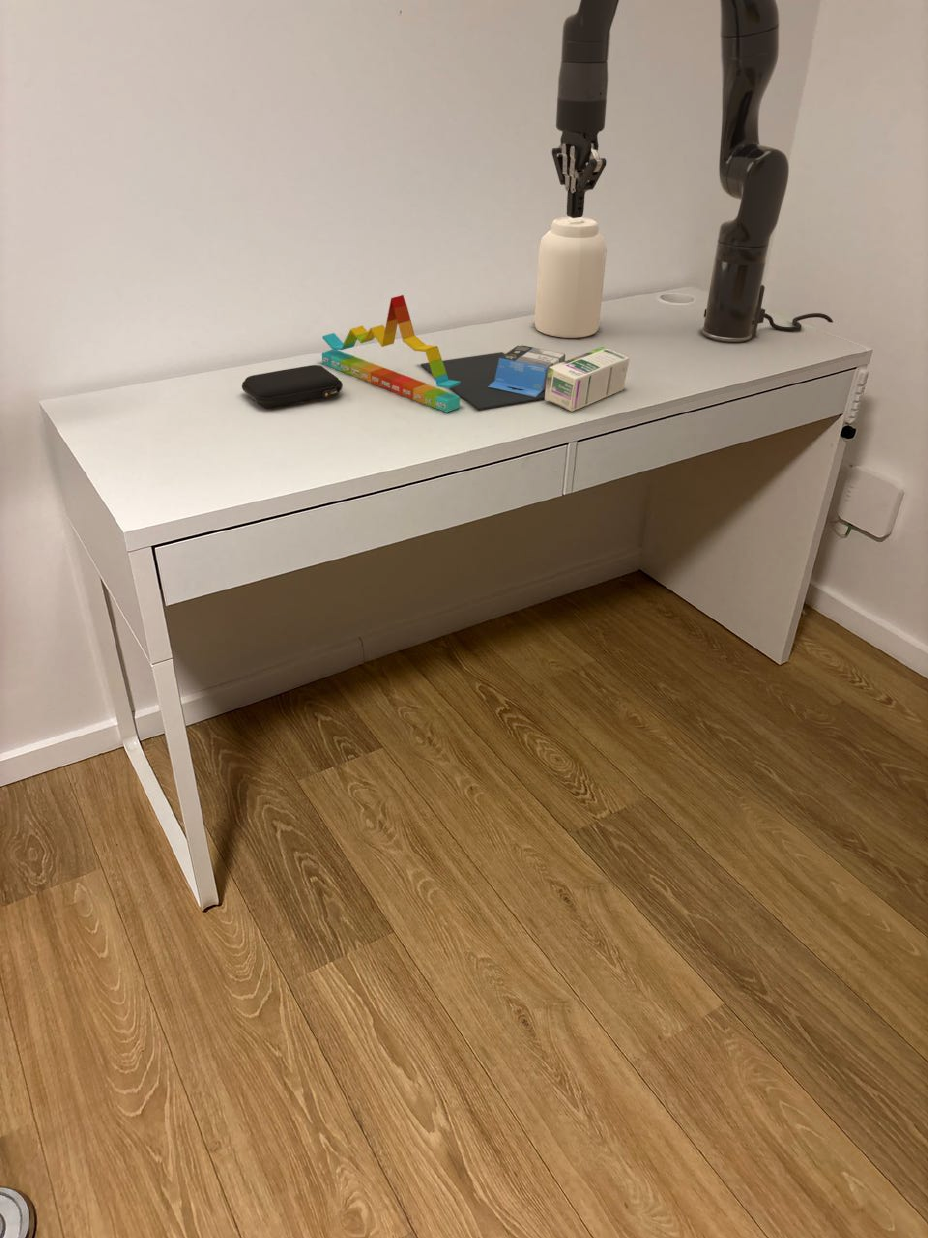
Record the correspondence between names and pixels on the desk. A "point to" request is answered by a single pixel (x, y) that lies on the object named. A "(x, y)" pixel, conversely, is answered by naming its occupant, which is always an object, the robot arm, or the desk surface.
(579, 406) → the syrup box
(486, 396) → the mat
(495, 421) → the desk surface
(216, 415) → the desk surface
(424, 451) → the desk surface
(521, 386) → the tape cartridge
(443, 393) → the chart
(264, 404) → the carrying case
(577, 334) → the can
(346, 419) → the desk surface
